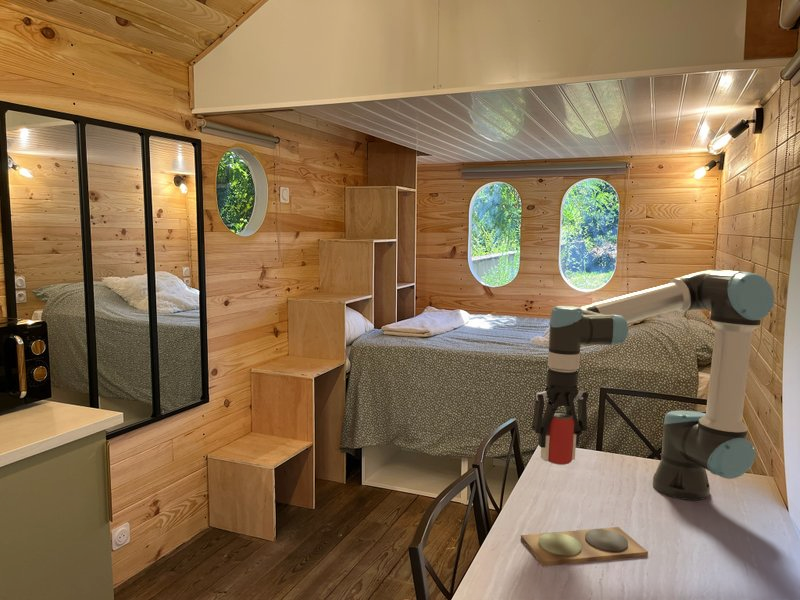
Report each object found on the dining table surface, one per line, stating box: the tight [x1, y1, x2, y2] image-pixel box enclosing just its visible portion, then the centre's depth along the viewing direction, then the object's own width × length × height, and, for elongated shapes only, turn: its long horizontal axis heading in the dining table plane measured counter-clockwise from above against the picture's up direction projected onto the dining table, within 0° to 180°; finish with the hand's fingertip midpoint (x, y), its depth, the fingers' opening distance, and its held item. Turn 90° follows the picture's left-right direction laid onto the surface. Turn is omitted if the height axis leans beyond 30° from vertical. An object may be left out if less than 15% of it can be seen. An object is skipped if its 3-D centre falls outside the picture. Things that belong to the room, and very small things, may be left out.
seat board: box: [520, 526, 649, 567], centre depth 143 cm, size 26×12×2 cm, turn 103°
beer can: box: [547, 410, 574, 466], centre depth 153 cm, size 7×7×12 cm
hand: (557, 458), depth 154 cm, fingers closed on beer can, 6 cm apart
